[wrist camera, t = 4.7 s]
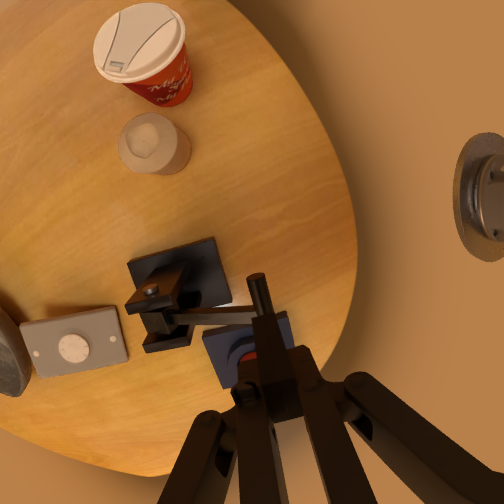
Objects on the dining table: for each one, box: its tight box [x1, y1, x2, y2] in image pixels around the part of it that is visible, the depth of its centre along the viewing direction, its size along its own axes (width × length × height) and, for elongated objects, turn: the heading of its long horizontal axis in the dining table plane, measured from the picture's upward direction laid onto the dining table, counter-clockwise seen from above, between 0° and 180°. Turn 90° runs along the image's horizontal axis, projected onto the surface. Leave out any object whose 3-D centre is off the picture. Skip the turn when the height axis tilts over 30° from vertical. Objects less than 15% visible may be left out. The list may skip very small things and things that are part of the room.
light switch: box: [19, 306, 129, 379], centre depth 33 cm, size 8×6×14 cm
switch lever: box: [139, 273, 274, 334], centre depth 23 cm, size 12×6×2 cm, turn 105°
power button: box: [240, 352, 257, 362], centre depth 33 cm, size 4×4×2 cm
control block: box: [202, 311, 295, 389], centre depth 35 cm, size 11×9×4 cm
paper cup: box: [93, 3, 193, 107], centre depth 22 cm, size 8×8×14 cm
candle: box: [118, 113, 191, 175], centre depth 26 cm, size 6×6×10 cm
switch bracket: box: [125, 237, 232, 353], centre depth 29 cm, size 11×8×12 cm
